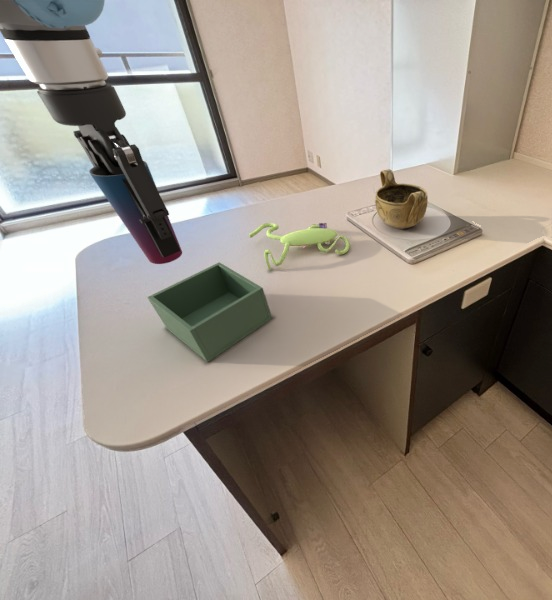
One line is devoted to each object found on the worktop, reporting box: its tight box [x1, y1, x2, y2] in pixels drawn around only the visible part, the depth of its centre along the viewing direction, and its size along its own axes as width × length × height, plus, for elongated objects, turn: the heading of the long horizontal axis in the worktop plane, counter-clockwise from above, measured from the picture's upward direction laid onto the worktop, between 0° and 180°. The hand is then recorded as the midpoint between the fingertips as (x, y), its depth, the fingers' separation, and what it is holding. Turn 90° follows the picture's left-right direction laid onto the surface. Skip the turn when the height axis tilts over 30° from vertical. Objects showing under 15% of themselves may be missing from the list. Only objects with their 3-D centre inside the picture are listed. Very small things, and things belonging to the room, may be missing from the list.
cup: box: [88, 160, 183, 265], centre depth 51 cm, size 7×7×15 cm
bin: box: [147, 262, 273, 363], centre depth 69 cm, size 16×16×9 cm
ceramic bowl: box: [374, 168, 429, 230], centre depth 105 cm, size 22×17×15 cm
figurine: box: [248, 222, 350, 271], centre depth 95 cm, size 18×27×6 cm
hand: (160, 246), depth 55 cm, fingers closed on cup, 6 cm apart
